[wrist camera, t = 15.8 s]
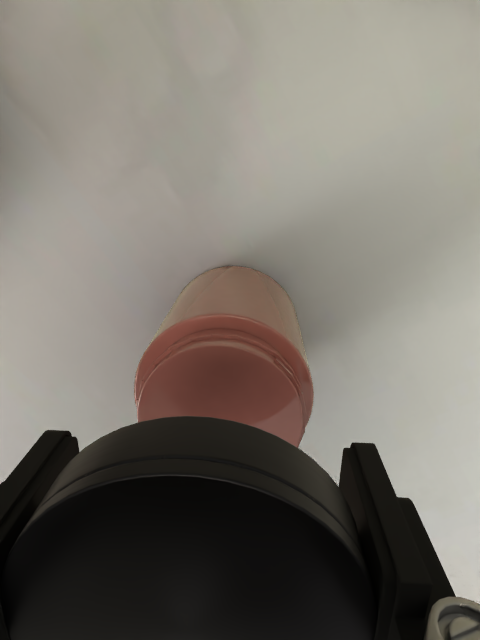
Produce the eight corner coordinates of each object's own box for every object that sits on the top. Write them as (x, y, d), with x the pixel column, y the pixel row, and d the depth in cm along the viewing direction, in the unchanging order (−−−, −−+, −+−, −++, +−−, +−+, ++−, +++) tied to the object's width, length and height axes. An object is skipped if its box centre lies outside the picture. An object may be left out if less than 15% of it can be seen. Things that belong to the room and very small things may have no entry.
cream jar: (231, 405, 23) (216, 529, 15) (145, 323, 22) (81, 413, 14) (323, 332, 22) (360, 429, 14) (237, 238, 20) (222, 286, 12)
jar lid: (421, 575, 9) (456, 659, 8) (189, 692, 11) (177, 782, 9) (216, 347, 8) (204, 394, 6) (-21, 526, 9) (-79, 600, 8)
